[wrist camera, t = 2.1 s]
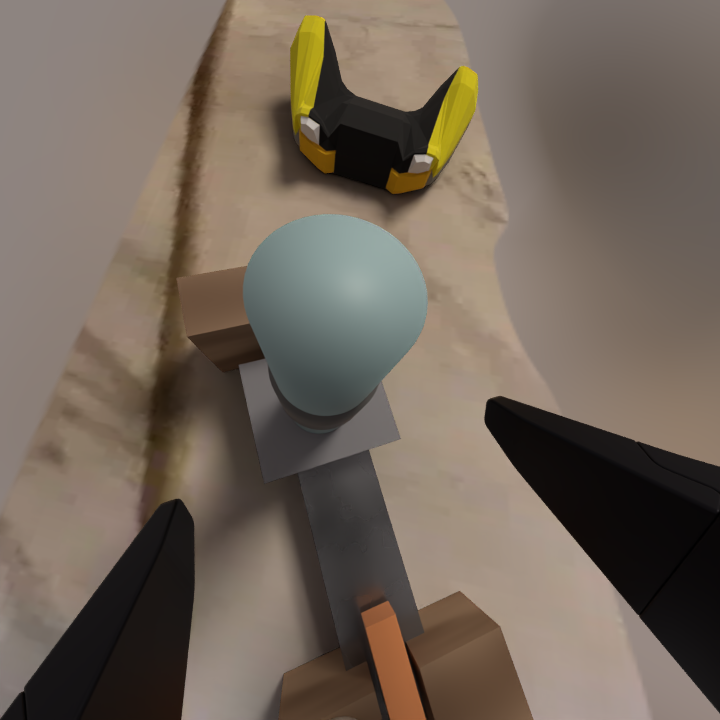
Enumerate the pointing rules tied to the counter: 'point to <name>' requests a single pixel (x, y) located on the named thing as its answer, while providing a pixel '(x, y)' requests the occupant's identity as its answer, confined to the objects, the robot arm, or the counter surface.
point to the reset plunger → (392, 664)
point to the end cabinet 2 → (420, 673)
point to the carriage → (327, 339)
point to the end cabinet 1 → (219, 317)
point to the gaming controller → (372, 120)
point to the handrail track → (358, 556)
